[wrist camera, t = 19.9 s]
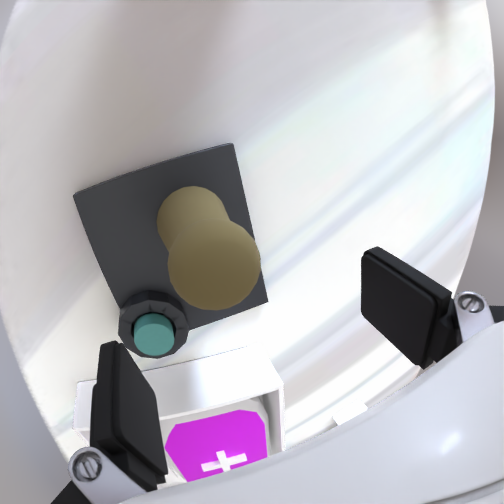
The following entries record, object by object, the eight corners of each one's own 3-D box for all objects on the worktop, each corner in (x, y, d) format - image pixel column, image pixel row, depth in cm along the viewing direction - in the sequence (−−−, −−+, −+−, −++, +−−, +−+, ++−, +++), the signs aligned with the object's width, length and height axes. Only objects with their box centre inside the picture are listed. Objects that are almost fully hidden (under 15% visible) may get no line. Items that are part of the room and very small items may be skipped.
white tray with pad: (165, 491, 42) (172, 520, 35) (78, 382, 28) (72, 430, 21) (272, 465, 47) (286, 492, 41) (259, 342, 33) (284, 385, 27)
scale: (68, 195, 21) (58, 203, 19) (229, 142, 24) (239, 143, 22) (136, 346, 29) (136, 365, 26) (265, 302, 32) (276, 317, 29)
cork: (182, 267, 26) (205, 345, 16) (142, 213, 23) (136, 268, 13) (239, 229, 26) (294, 285, 17) (203, 171, 23) (241, 195, 14)
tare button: (127, 319, 24) (127, 330, 23) (164, 307, 25) (165, 318, 24) (143, 348, 26) (144, 360, 24) (177, 337, 27) (180, 349, 25)
